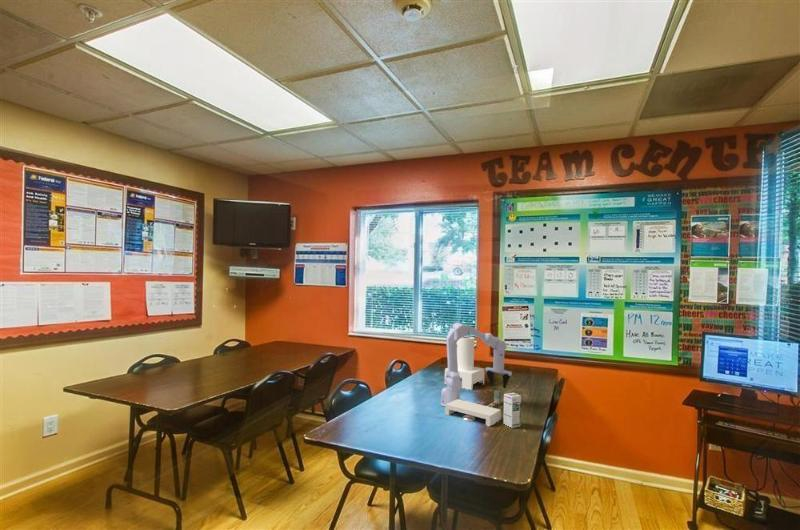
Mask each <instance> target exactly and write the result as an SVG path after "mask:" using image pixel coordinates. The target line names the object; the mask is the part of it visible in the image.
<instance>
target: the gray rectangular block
mask: <svg viewBox="0 0 800 530" xmlns="http://www.w3.org/2000/svg"><path fill="white" fill-rule="evenodd" d="M497 404H498V405H497ZM499 404H500V405H501V404H502V390H500V389H495V390H493V402H491V403H489V404H487V405H486V406H488V407H492V408H494V407H495V405H496V406H500V405H499ZM493 406H494V407H493Z"/></svg>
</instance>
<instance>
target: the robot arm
mask: <svg viewBox="0 0 800 530" xmlns="http://www.w3.org/2000/svg"><path fill="white" fill-rule="evenodd" d="M468 335H469V336H470V335H473V336H475V337H477V338H479V339H480V340H481V341H482V343H483V344H485V345H487V346H489V347H491V348H492V349H493V363H492V364H493V365H492V367H485V372H486V373H485V375H486V376H487V378H488V380H489V381H488V382H489V385H490V386H493V385H494V376H495V373H496V374H499V375H500V374H501V375H502V387H503V389H506V388H507V385H508V381H509V379H510V378H511V376H512V374H513V373H512V371H509V370H506V369H505V352H506V349H507V348H508V347H507V344H506V342H505V341H504V340H501V339H500V338H499V337H498V336H495V335H493V334H492V333H490V332H489V333H488V332H486V333H483V332H481V331H480V330H478V329H477V328H474V327H473V326H471V325H467V324H465V323H461V322H458V321H456V322H453V323H452V324H451V325H450V327H449V331H448V333H447V336H446V337H445V338H446V341H445V342H446V357H447V368H448V371H447V373H446V378H445V377H444V384H445V383H446V386H445V387H443V388H442V389H441V393H440V404H439V405H440V406H442V407H446V404H447V403H450V402H452V401H454V400H457V399H459V400H461V399H460V397H461V395H460V394H461V389H462V379H460V375H459V373H458V363H457V341H458V340H459V339H460V338H462V337H464V336H468Z"/></svg>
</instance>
